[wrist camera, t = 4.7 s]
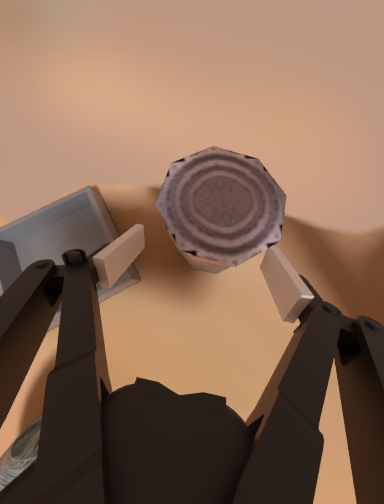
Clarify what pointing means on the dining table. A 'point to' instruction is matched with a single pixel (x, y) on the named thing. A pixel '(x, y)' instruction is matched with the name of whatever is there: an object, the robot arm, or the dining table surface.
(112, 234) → the tray
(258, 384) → the dining table surface
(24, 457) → the spool
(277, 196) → the can
